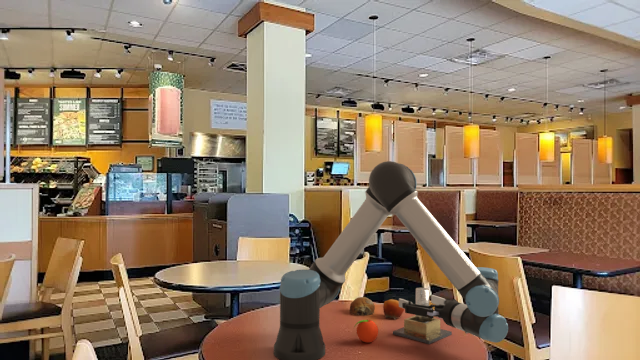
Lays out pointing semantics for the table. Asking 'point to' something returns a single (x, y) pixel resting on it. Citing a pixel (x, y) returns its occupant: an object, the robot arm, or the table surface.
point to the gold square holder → (422, 330)
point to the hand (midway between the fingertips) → (416, 300)
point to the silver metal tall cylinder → (422, 302)
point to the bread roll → (362, 306)
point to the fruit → (392, 309)
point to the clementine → (367, 330)
